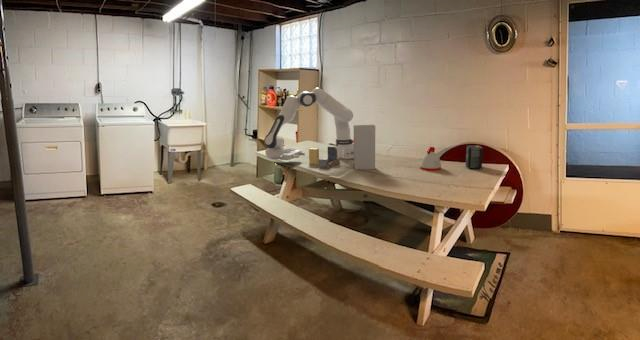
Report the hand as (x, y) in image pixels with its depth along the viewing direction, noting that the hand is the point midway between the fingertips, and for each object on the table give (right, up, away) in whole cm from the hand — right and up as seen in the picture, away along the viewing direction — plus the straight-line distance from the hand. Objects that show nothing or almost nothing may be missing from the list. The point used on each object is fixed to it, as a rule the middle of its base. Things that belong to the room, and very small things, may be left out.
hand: (301, 155), depth 309 cm
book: (+9, -7, -3) cm, 12 cm away
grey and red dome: (+89, -10, -23) cm, 93 cm away
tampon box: (+119, -9, -23) cm, 121 cm away
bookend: (+16, -9, -17) cm, 25 cm away
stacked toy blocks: (+18, -8, -9) cm, 22 cm away
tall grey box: (+44, -10, -18) cm, 49 cm away
